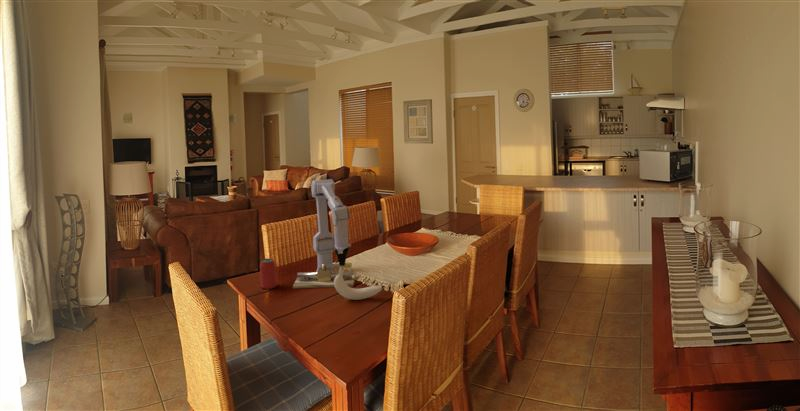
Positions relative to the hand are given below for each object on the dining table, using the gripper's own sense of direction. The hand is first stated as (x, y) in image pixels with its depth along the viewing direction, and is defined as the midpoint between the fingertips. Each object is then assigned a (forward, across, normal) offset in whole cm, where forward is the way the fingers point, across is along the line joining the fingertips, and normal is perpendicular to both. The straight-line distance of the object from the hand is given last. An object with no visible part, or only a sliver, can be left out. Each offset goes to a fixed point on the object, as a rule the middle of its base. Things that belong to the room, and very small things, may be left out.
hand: (342, 265), depth 207 cm
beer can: (+10, +2, +32) cm, 34 cm away
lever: (+2, +5, +3) cm, 7 cm away
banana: (+10, -16, -8) cm, 21 cm away
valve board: (+9, +6, +8) cm, 14 cm away
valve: (+8, +6, +8) cm, 13 cm away
